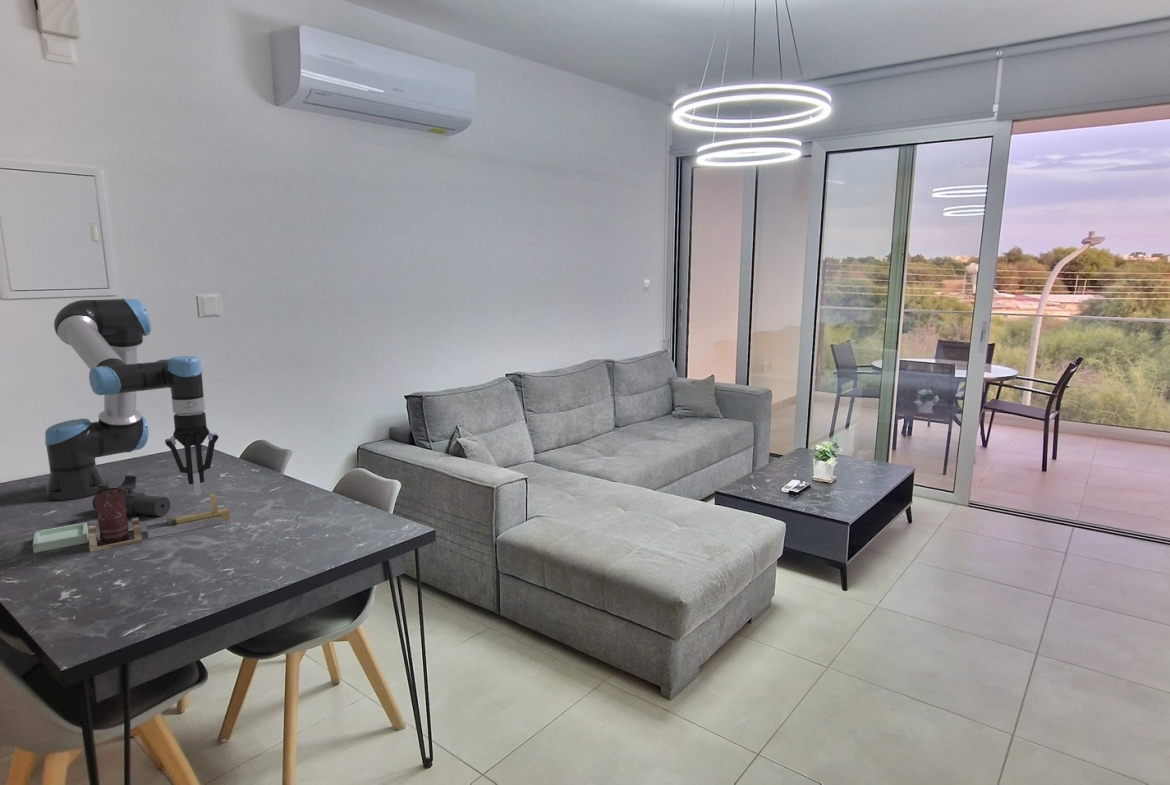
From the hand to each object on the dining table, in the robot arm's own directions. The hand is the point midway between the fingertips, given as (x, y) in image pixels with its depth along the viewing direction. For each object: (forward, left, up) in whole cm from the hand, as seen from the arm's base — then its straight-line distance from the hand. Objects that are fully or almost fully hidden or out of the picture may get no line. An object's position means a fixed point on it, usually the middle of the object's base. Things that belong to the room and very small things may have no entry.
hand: (197, 494), depth 183 cm
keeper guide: (+1, -4, -9) cm, 10 cm away
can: (+1, -20, -9) cm, 22 cm away
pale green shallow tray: (-8, -31, -9) cm, 33 cm away
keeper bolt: (+1, 0, -9) cm, 9 cm away
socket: (+1, -20, -9) cm, 22 cm away
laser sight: (-22, -15, -9) cm, 29 cm away
